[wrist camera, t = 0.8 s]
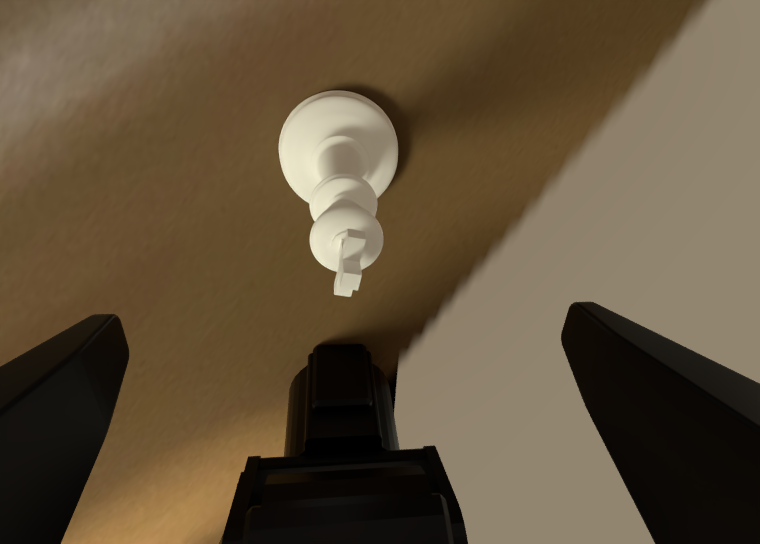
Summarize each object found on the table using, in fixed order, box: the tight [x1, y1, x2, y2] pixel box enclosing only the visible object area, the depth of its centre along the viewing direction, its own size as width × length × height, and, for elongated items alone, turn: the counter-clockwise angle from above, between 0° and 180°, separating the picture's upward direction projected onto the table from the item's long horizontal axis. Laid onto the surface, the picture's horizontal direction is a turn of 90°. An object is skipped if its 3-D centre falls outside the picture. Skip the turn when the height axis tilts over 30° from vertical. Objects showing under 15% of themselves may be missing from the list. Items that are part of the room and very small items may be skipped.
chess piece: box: [279, 90, 398, 297], centre depth 15 cm, size 5×5×10 cm
